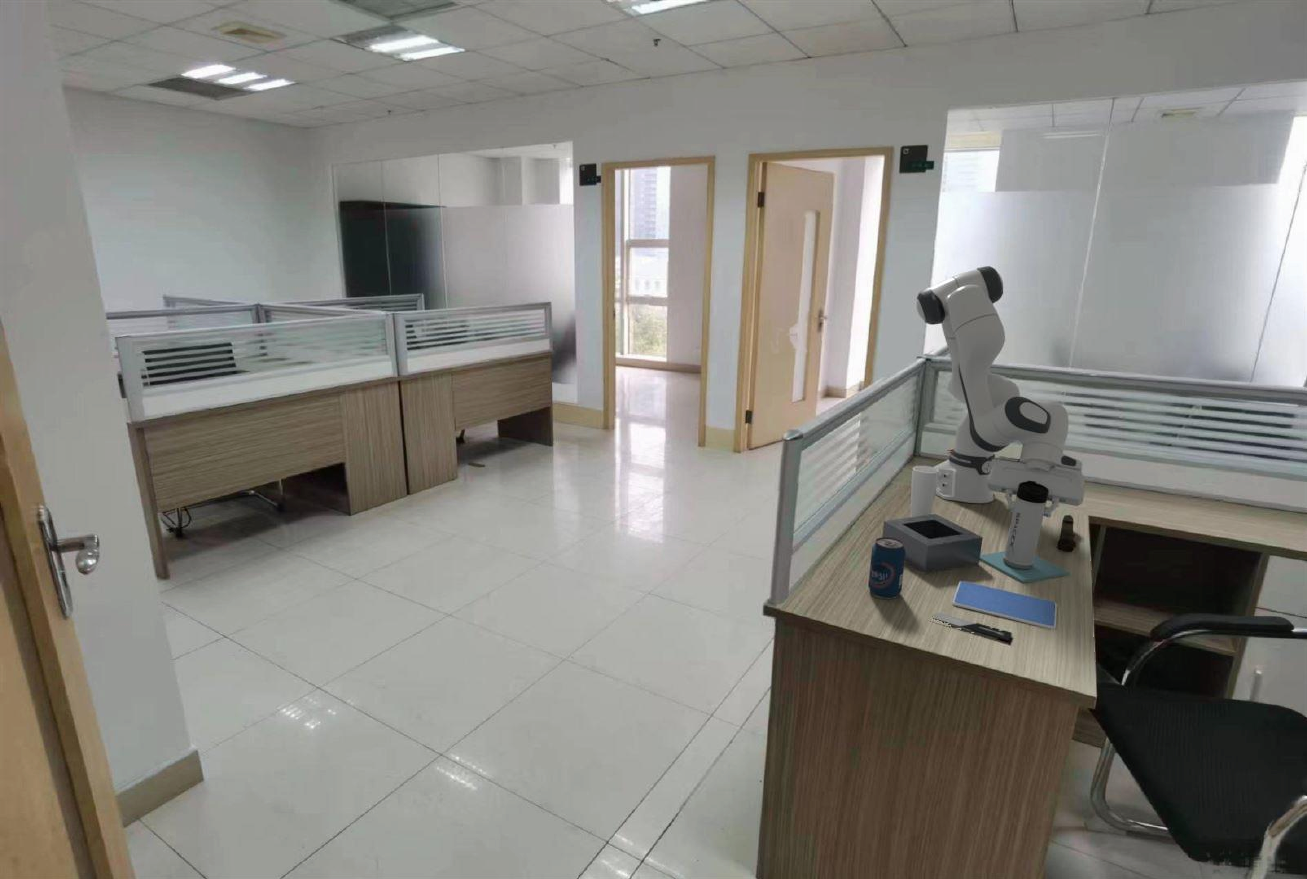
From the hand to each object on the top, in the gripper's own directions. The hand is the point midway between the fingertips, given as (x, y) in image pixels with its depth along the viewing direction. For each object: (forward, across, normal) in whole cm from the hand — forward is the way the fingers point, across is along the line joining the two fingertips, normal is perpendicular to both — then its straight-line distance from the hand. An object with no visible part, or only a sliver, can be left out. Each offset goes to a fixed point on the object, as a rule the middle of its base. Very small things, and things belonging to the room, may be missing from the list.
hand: (1028, 512), depth 159 cm
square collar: (+14, -20, +6) cm, 25 cm away
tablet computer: (+26, 0, -5) cm, 27 cm away
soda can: (+33, -23, -12) cm, 42 cm away
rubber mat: (+9, 0, +10) cm, 14 cm away
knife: (+36, -4, -16) cm, 40 cm away
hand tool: (-8, +7, +28) cm, 30 cm away
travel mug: (+9, -1, +10) cm, 13 cm away
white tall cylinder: (-2, -27, +23) cm, 35 cm away
